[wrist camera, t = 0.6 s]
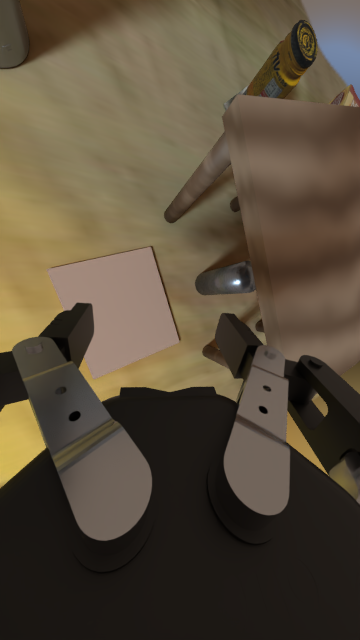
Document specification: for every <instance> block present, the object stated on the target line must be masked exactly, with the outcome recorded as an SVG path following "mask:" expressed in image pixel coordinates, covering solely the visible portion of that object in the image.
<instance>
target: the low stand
mask: <svg viewBox="0 0 360 640" xmlns="http://www.w3.org/2000/svg"><path fill="white" fill-rule="evenodd" d="M222 119H223V124H224V129H225V132H224V133H223V134H222V136H221V137H220V138H219V140H218V141H217V142H216V144H215V145H214V146H213V148H212V149H211V151H210V152H209V153H208V155H207V156H206V157H205V159H204V160H203V161H202V163H201V164H200V165H199V167H198V168H197V169H196V171H195V172H194V173H193V175H192V176H191V177H190V179H189V180H188V181H187V183H186V184H185V185H184V187H183V188H182V189H181V191H180V192H179V193H178V195H177V196H176V197H175V199H174V200H173V201H172V203H171V204H170V205H169V207H168V208H167V209H166V211H165V213H164V217H165V219H166V221H167V222H169V223H174V222H175V221H176V220H177V219H178V218H179V217H180V216H181V215H182V214H183V213H184V212H185V211H186V210H187V209H188V208H189V207H190V206H191V205H192V204H193V203H194V201H195V200H196V199H197V198H198V197H199V196H200V195H201V194H202V193H203V192H204V191H205V190H206V189H207V188H208V187H209V186H210V185H211V184H212V183H213V182H214V181H215V180H216V179H217V178H218V177H219V176H220V175H221V174H222V173H223V171H224V170H225V169H226V168H227V167H228V166H229V165H230V164H232V169H233V175H234V180H235V185H236V190H237V195H238V196H237V197H236V198H234V199H233V200H232V201H231V202H230V207H231V209H232V211H234V212H237V211H239V210H241V215H242V220H243V225H244V230H245V235H246V240H247V245H248V250H249V255H250V261H251V266H252V271H253V276H254V281H255V286H256V291H257V296H258V301H259V306H260V311H261V316H262V321H263V322H260V321H259V322H257V323H256V326H255V328H256V330H257V331H259V332H264V333H265V336H266V341H267V346H270V347H273V348H275V349H277V350H279V351H280V352H281V353H282V354H283V355H284V357H285V359H287V360H291V361H296V362H298V360H299V359H300V357H301V356H302V355H309V356H313V357H316V358H318V359H320V360H322V361H323V362H325V363H326V364H327V365H328V366H329V367H330V368H331V369H333V370H334V371H335V372H336V373H337V374H338V375H339V376H340V375H342V374H343V373H344V372H346V371H347V370H348V369H350V368H351V367H352V366H354V365H355V364H356V363H358V362H359V361H360V107H353V106H343V105H334V104H325V103H315V102H306V101H296V100H287V99H278V98H268V97H259V96H249V95H240V94H237V95H236V97H235V98H234V100H233V101H232V103H231V104H230V106H229V107H228V109H227V110H226V112H225V113H224V115H223V116H222ZM202 353H203V355H204V356H205V357H207V358H209V359H211V360H213V361H215V362H217V363H219V364H221V365H223V366H225V367H227V368H229V367H228V365H227V363H226V361H225V359H224V357H223V355H222V353H221V351H220V350H218V349H216V348H213V347H211V346H205V347H204V348H203V351H202ZM316 394H317V393H316ZM316 394H315V395H316Z"/></svg>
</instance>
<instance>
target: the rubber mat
mask: <svg viewBox="0 0 360 640" xmlns="http://www.w3.org/2000/svg"><path fill="white" fill-rule="evenodd" d="M47 272H48V274H49V276H50V279H51V281H52V283H53V286H54V288H55V290H56V293H57V295H58V297H59V300H60V302H61V304H62V307H63V309H64V311H65V310H71V309H72V308H73V307H74V305H75V304H76V303H77V302H79V303H91V304H92V306H93V317H94V335H93V338H92V340H91V342H90V344H89V347H88V349H87V351H86V353H85V355H84V358H85V360H86V363H87V365H88V368H89V370H90V372H91V375H92V377H93V379H96V378H98V377H100V376H103V375H105V374H107V373H110V372H112V371H114V370H117V369H119V368H121V367H123V366H126V365H128V364H130V363H133V362H135V361H137V360H140V359H142V358H144V357H147V356H149V355H151V354H154V353H156V352H158V351H161V350H163V349H165V348H168V347H170V346H172V345H174V344H177V343H179V338H178V335H177V332H176V328H175V325H174V322H173V318H172V315H171V312H170V309H169V305H168V302H167V299H166V295H165V292H164V289H163V286H162V282H161V279H160V276H159V272H158V269H157V266H156V262H155V259H154V256H153V253H152V249H151V247H147V248H143V249H138V250H133V251H129V252H124V253H120V254H115V255H110V256H106V257H101V258H97V259H92V260H87V261H83V262H78V263H73V264H69V265H64V266H60V267H55V268H50V269H47Z"/></svg>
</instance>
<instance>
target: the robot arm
mask: <svg viewBox="0 0 360 640" xmlns="http://www.w3.org/2000/svg"><path fill="white" fill-rule="evenodd" d="M28 51H29V38H28V32H27V28H26V24H25V21H24V17H23V13H22V9H21V5H20V1H19V0H0V68H10V67H13V66H17V65H18V64H20V63H21V62H23V60H24V59H25V58H26V57H27V54H28ZM93 335H94V317H93V306H92V304H91V303H79V302H77V303H76V304H75V305H74V307H73V308H72V309H71V310H65V311H63V312H62V313H60V314H58V315H57V316H56V317H55V318H54V320H53V321H52V322H51V323H50V324H49V325H48V326H47V327H46V328H45V330H44V331H43V332H42V333H41V334H40V335H39V336H38V337H33V338H29V339H26V340H23V341H21V342H19V343H18V344H16V345H15V346H14V347H13V349H12V351H10V352H3V353H0V412H1V410H2V409H3V407H4V406H5V405H7V404H11V403H15V402H19V401H23V400H27V399H29V402H30V404H31V407H32V410H33V412H34V415H35V418H36V421H37V423H38V426H39V429H40V431H41V434H42V437H43V440H44V443H45V445H46V449H45V450H43V451H42V452H41V453H40V454H39V455H38V456H37V457H35V458H34V459H33V460H32V461H31V462H30V463H29V464H27V465H26V466H25V467H24V468H23V469H22V470H21V471H20V472H18V473H17V474H16V475H15V476H14V477H13V478H12V479H10V480H9V481H8V482H7V483H6V484H5V485H4V486H2V487H1V488H0V640H360V394H359V393H358V392H357V391H355V390H354V389H353V388H352V387H351V386H350V385H349V384H348V383H347V382H346V381H345V380H343V379H342V378H341V377H340V376H339V375H338V374H337V373H336V372H335V371H334V370H333V369H331V368H330V367H329V366H328V365H327V364H326V363H325V362H323V361H322V360H320V359H318V358H316V357H313V356H309V355H302V356H301V357H300V359H299V360H298V362H296V361H291V360H287V359H285V357H284V355H283V354H282V353H281V352H280V351H279V350H277V349H275V348H273V347H270V346H266V345H263V344H262V342H261V341H260V340H259V339H258V338H257V337H256V335H254V333H253V332H252V331H251V330H250V328H249V327H248V326H247V325H245V324H244V323H242V322H241V321H240V320H239V319H238V318H237V317H236V316H235V314H229V313H222V314H221V316H220V319H219V323H218V326H217V330H216V334H215V340H216V343H217V345H218V347H219V349H220V351H221V353H222V355H223V357H224V359H225V361H226V363H227V365H228V367H229V369H230V371H231V373H232V375H233V377H234V378H243V380H244V381H243V383H242V385H241V388H240V391H239V394H238V397H237V399H236V402H235V401H233V400H231V399H229V398H227V397H224V396H221V395H218V394H216V391H215V388H214V387H190V388H186V389H182V390H178V391H174V392H166V391H161V390H156V389H151V388H146V387H123V388H121V390H120V395H119V396H115V397H112V398H109V399H107V400H105V401H102V402H101V401H100V400H99V398H98V397H97V396H96V394H95V393H94V391H93V390H92V388H91V387H90V385H89V384H88V382H87V381H86V380H85V378H84V377H83V375H82V374H81V372H80V371H79V366H80V364H81V362H82V360H83V358H84V355H85V353H86V351H87V349H88V347H89V344H90V342H91V340H92V338H93ZM316 393H318V394H319V395H320V396H321V398H323V400H324V401H325V402H326V404H327V406H328V414H327V415H326V416H325V417H324V416H323V414H322V413H321V412H320V411H319V409H318V408H317V407H316V406H315V404H314V403H313V402H312V398H313V397H314V396H315V394H316ZM287 410H288V412H289V413H290V415H291V417H292V418H293V420H294V421H295V423H296V425H297V426H298V428H299V429H300V431H301V432H302V434H303V435H304V437H305V439H306V440H307V442H308V443H309V445H310V447H311V448H312V450H313V451H314V453H315V454H316V456H317V458H318V459H319V461H320V462H321V464H322V466H323V467H324V469H325V470H326V472H327V473H328V475H329V476H328V475H327V474H325V473H324V472H323V471H322V470H321V469H319V468H318V467H317V466H316V465H314V464H313V463H312V462H311V461H309V460H308V459H307V458H305V457H304V456H303V455H302V454H301V453H299V452H298V451H297V450H296V449H294V448H293V447H292V446H290V445H289V444H288V443H287V442H286V429H287Z"/></svg>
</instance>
